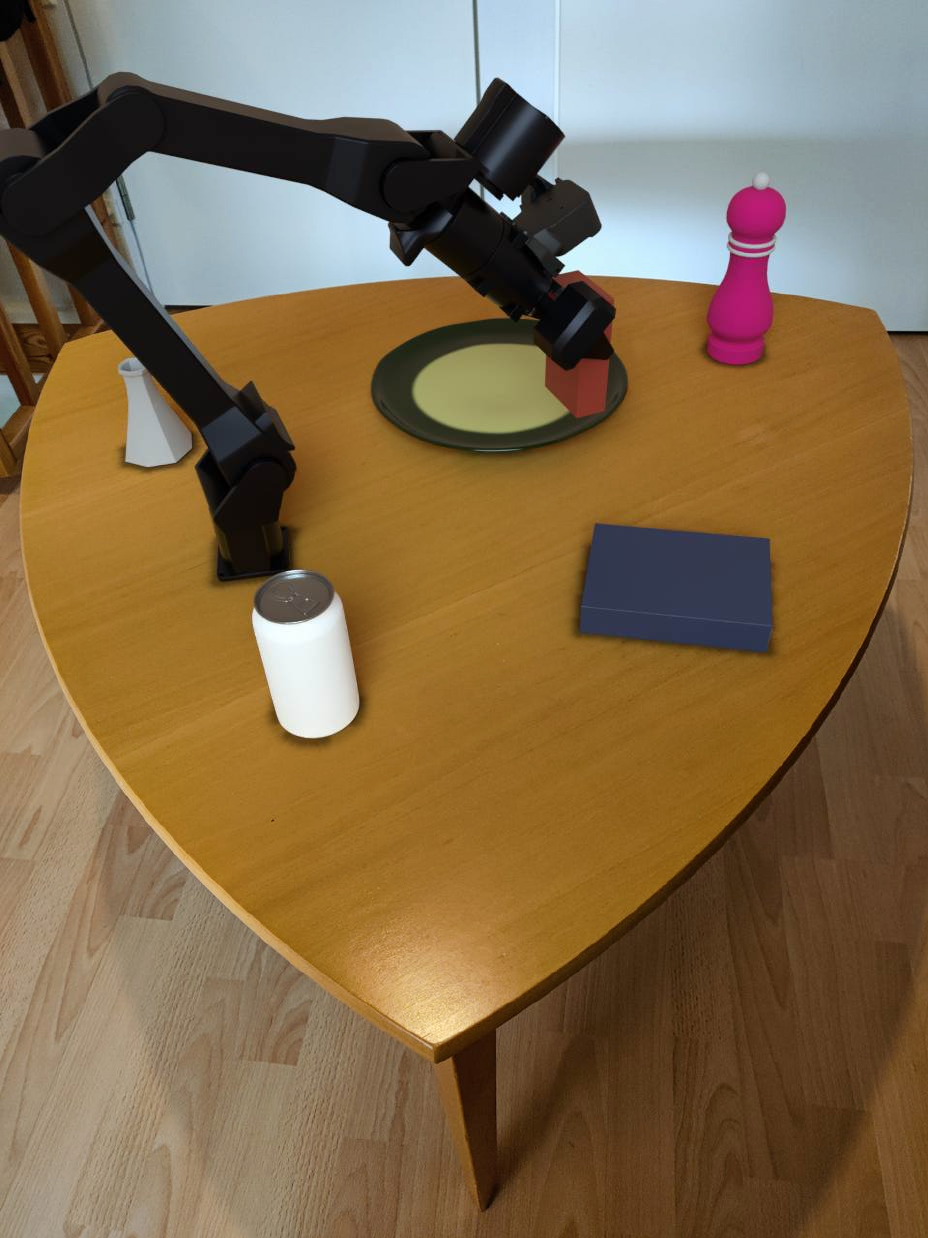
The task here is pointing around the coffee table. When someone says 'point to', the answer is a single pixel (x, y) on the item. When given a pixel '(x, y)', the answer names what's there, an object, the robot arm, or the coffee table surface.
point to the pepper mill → (746, 275)
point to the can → (306, 653)
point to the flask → (151, 420)
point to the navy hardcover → (678, 587)
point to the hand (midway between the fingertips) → (591, 338)
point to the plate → (481, 389)
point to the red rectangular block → (580, 367)
